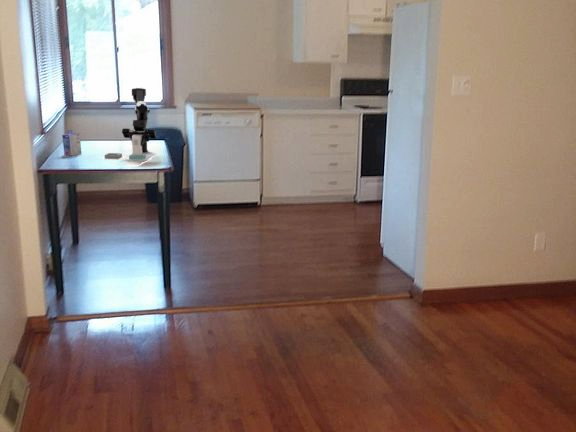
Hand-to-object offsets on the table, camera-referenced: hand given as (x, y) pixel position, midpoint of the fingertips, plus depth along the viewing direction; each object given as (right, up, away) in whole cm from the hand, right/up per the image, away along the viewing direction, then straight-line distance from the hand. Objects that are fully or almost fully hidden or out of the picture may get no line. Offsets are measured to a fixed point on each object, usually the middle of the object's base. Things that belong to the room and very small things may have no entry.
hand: (136, 145), depth 348 cm
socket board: (-7, -8, +3) cm, 11 cm away
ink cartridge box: (-42, -4, +17) cm, 46 cm away
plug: (0, -6, +2) cm, 7 cm away
